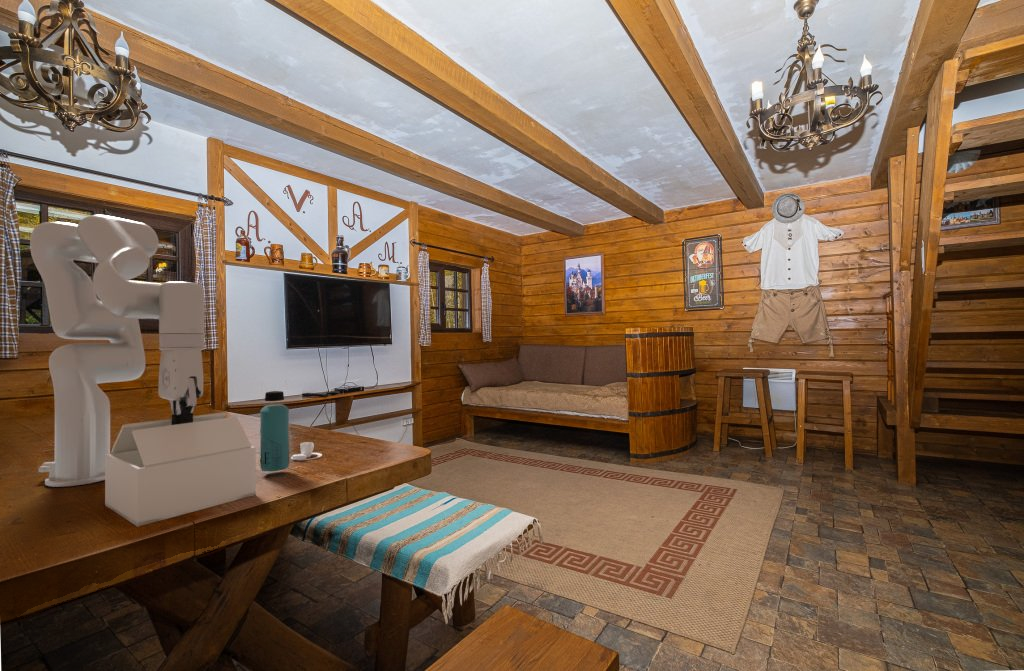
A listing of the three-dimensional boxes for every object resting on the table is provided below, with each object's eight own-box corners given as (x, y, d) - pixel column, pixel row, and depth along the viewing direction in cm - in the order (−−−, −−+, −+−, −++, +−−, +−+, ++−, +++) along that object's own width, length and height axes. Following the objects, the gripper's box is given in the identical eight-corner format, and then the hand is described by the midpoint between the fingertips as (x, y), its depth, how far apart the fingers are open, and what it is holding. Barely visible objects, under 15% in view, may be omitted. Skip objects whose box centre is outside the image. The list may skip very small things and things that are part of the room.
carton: (137, 526, 81) (137, 469, 81) (105, 505, 91) (105, 454, 91) (255, 494, 97) (255, 446, 97) (216, 479, 108) (216, 436, 108)
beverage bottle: (295, 470, 115) (295, 389, 115) (279, 478, 109) (279, 393, 109) (270, 469, 116) (270, 389, 116) (253, 477, 109) (253, 392, 109)
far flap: (123, 427, 88) (122, 424, 89) (111, 453, 92) (111, 450, 92) (225, 414, 103) (224, 412, 103) (212, 437, 107) (211, 435, 107)
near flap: (144, 467, 82) (145, 465, 82) (132, 432, 86) (132, 430, 85) (250, 447, 97) (251, 445, 96) (235, 418, 100) (236, 416, 100)
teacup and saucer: (297, 464, 123) (297, 448, 123) (282, 459, 128) (282, 444, 128) (328, 457, 130) (328, 442, 130) (312, 453, 135) (312, 439, 135)
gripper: (146, 343, 96) (146, 432, 96) (175, 343, 87) (175, 441, 87) (188, 342, 102) (188, 426, 102) (219, 342, 93) (219, 434, 93)
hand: (182, 433), depth 94 cm, fingers closed
